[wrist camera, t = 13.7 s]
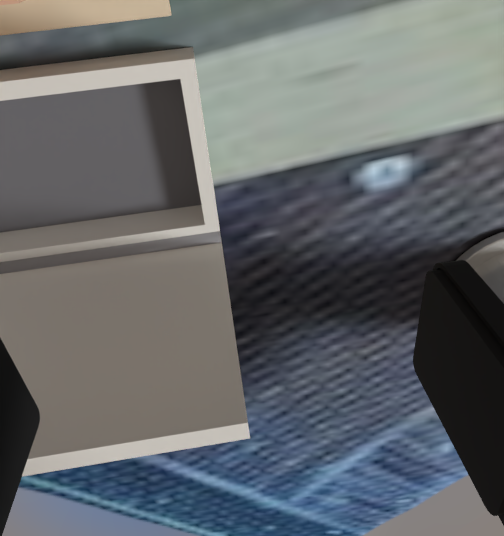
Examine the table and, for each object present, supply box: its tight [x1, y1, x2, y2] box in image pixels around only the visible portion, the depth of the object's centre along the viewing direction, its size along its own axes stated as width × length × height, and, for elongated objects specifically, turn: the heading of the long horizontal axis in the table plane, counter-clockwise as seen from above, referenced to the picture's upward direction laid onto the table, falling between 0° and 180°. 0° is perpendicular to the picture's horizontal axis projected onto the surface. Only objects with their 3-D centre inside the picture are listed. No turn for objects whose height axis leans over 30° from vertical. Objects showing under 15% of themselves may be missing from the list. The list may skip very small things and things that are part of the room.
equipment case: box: [0, 47, 250, 476], centre depth 25 cm, size 14×21×20 cm, turn 95°
